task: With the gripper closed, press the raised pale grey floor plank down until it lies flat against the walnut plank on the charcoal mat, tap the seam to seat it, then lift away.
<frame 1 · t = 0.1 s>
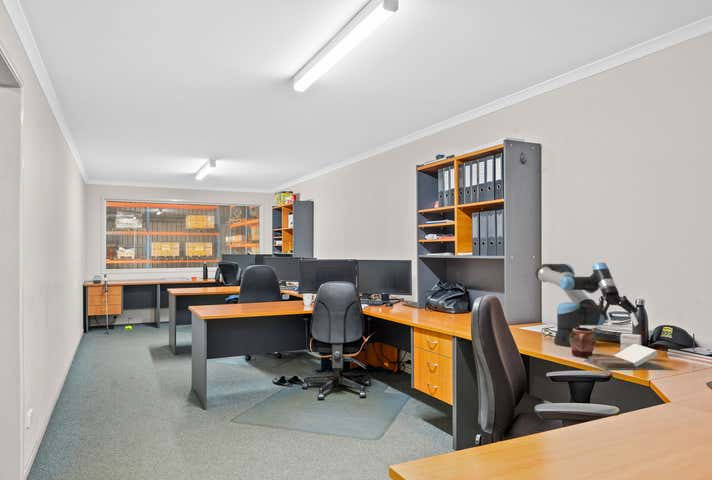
hand: (623, 325, 241), 15 cm above the table, tool tilted 35°, fingers open, 13 cm apart
decorative planter: (582, 357, 238), on the table
underlay mat: (622, 364, 221), on the table
ink box: (631, 358, 234), on the table
grey plank: (635, 354, 221), point 5 cm above the table, hinge at 28.0°
walnut plank: (609, 365, 220), resting on underlay mat
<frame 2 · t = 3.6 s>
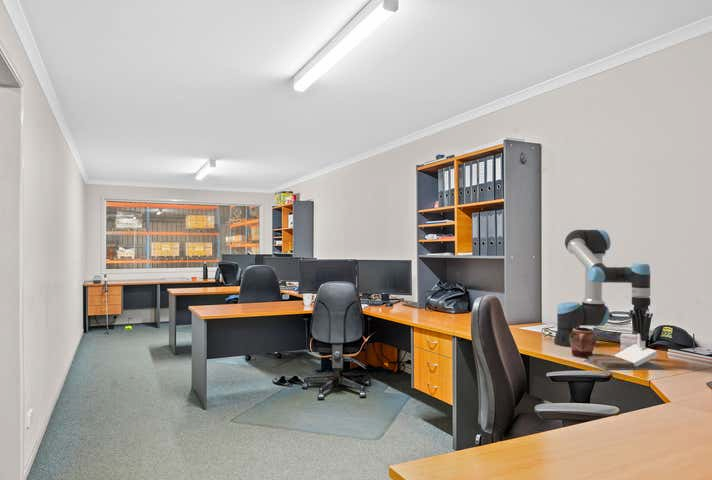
hand: (641, 347, 222), 8 cm above the table, tool pointing down, fingers closed
grey plank: (635, 355, 221), point 4 cm above the table, hinge at 26.5°, touching gripper
everything else where it was.
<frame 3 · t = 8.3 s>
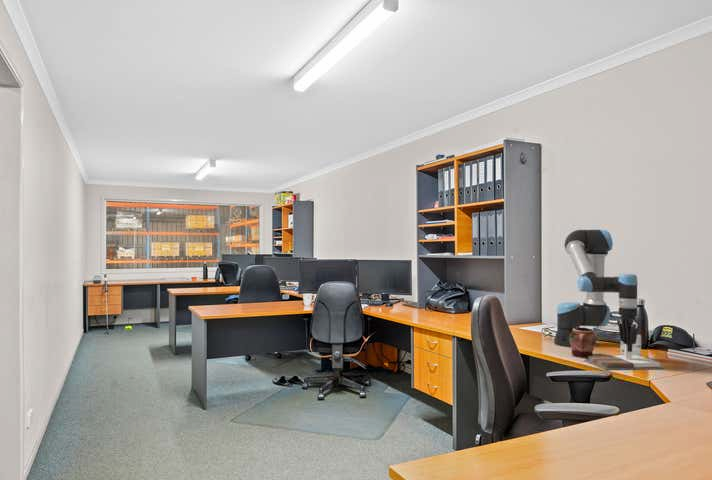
hand: (628, 358, 221), 3 cm above the table, tool pointing down, fingers closed
grey plank: (635, 361, 221), point 2 cm above the table, hinge at 0.7°
everything else where it was.
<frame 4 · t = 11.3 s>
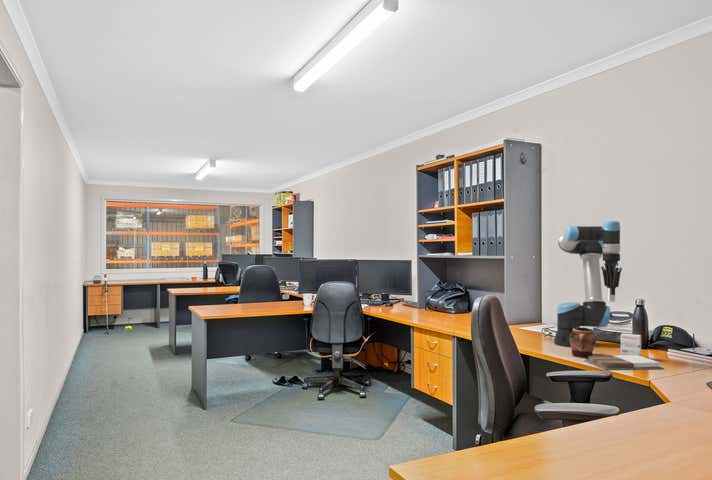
hand: (611, 301, 231), 28 cm above the table, tool pointing down, fingers closed
nothing on the table moved.
at the end: grey plank at +1° (first picture: +28°); ink box moved 0.3 cm from its start; decorative planter moved 0.2 cm from its start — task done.
